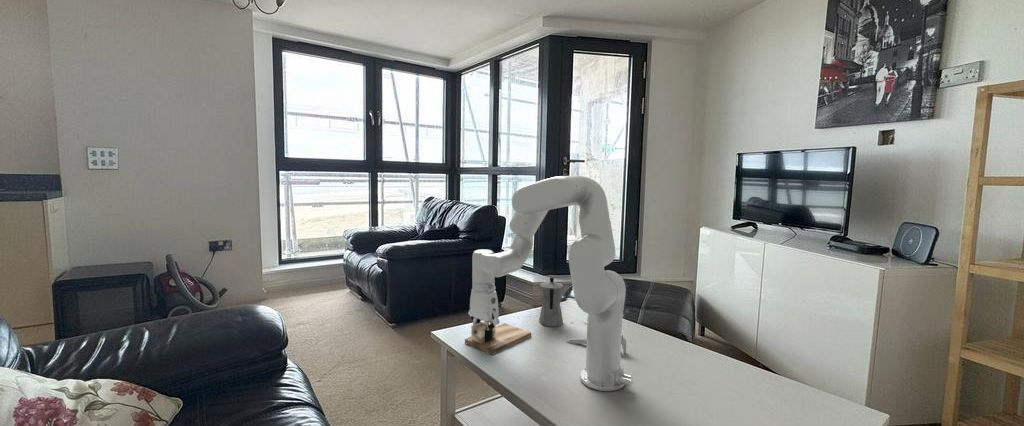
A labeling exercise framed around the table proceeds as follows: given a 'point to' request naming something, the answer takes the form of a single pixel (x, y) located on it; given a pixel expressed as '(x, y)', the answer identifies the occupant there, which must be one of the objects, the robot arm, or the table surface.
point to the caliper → (584, 341)
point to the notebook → (501, 339)
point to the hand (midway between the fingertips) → (483, 337)
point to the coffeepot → (551, 303)
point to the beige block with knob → (479, 332)
